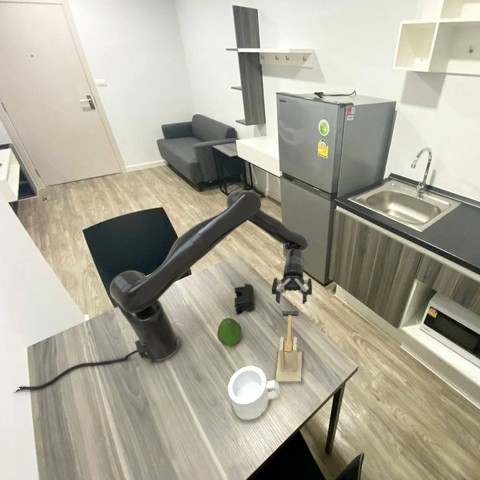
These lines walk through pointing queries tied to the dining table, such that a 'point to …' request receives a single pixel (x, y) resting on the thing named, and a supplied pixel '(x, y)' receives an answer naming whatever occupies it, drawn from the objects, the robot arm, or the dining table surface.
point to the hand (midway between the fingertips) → (291, 302)
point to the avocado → (229, 332)
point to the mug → (251, 392)
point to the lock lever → (289, 329)
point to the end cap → (244, 298)
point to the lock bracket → (289, 363)
